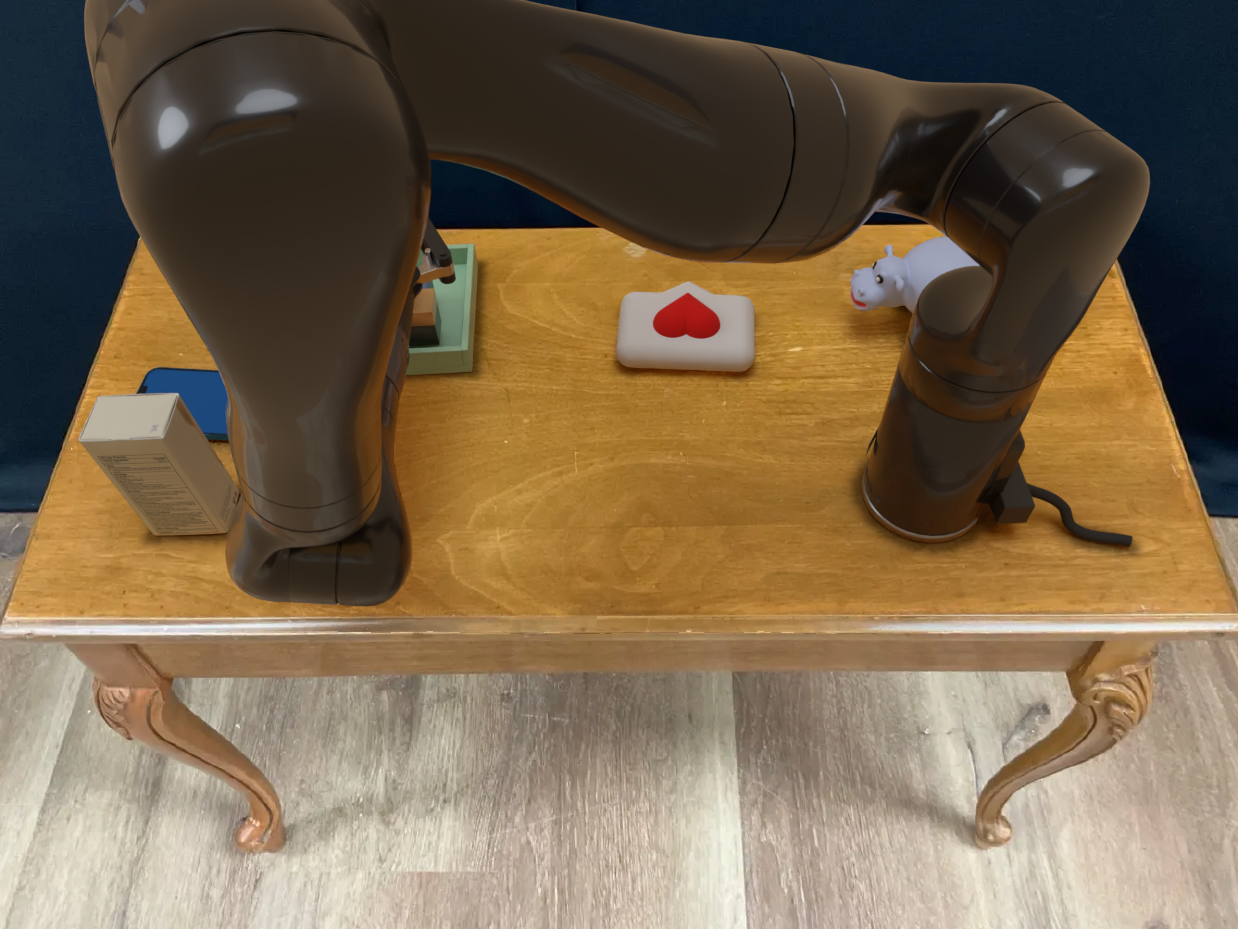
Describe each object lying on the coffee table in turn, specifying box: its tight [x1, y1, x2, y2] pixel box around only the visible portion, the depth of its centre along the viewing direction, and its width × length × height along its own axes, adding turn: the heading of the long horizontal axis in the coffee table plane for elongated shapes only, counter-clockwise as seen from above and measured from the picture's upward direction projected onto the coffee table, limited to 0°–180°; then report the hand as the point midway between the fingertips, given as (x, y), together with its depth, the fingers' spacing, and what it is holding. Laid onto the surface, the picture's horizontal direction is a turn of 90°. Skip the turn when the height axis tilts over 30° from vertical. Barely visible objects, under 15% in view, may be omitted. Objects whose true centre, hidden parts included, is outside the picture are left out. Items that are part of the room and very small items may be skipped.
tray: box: [406, 243, 479, 376], centre depth 89 cm, size 11×14×3 cm
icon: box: [615, 280, 756, 373], centre depth 87 cm, size 12×4×10 cm
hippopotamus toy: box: [849, 235, 980, 314], centre depth 85 cm, size 11×15×10 cm
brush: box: [409, 288, 441, 346], centre depth 81 cm, size 6×3×15 cm, turn 93°
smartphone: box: [135, 366, 229, 441], centre depth 84 cm, size 7×1×15 cm
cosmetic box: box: [77, 393, 240, 536], centre depth 73 cm, size 6×4×12 cm
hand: (378, 193), depth 78 cm, fingers closed on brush, 3 cm apart
